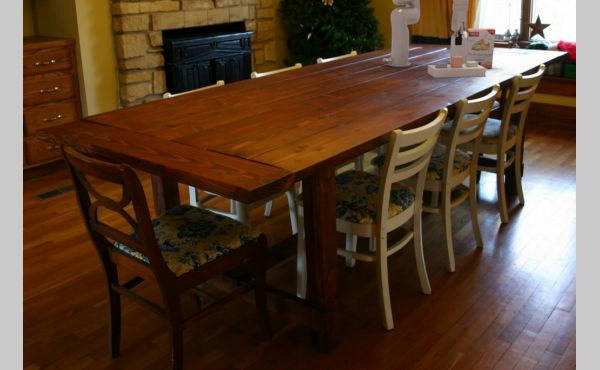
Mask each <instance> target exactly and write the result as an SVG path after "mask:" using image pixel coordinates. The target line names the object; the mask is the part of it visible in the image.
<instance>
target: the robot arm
mask: <svg viewBox="0 0 600 370" xmlns="http://www.w3.org/2000/svg"><path fill="white" fill-rule="evenodd" d="M469 1H470V0H452V18H451V27H450V29H451V31H454V33H455V45H462V36H463V33H464V31H465V30H467V20H468V19H467V18H468V15H467V12H468V11H469ZM392 3H393V4H394V5H397V6H402V7H396V8H395V9H393V10H392V11H391V13H390V24H391V53H390V55H391V56H390V57H388V58H383V59H382V63H388V66H389V67H394V68H404V67H410V66H412V63H411V62H409V51H410V49H409V48H410V46H409V45H410V30H409V27H408V25H414V24H417V23H418V22H419V20H420V18H421V6H420V3H421V2H420V0H392ZM403 5H405V6H403Z"/></svg>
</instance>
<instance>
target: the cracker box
mask: <svg viewBox="0 0 600 370" xmlns="http://www.w3.org/2000/svg"><path fill="white" fill-rule="evenodd" d="M466 32H467V44H466V57H465V64H466V62H469V61H475V62H478V65H480V66H482V67H484V68H486V70H488V69H492V68H493V60H494V49H495V39H496V29H495V28H484V27H483V28H482V27H481V28H480V27H478V28H477V27H475V28H467V31H466Z"/></svg>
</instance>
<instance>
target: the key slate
mask: <svg viewBox="0 0 600 370" xmlns="http://www.w3.org/2000/svg"><path fill="white" fill-rule="evenodd" d="M434 65H435V67H436V68H447V65H448V63H447V62H445V61H443V62H439V61H437V62H435V63H434Z"/></svg>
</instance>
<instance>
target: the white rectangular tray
mask: <svg viewBox="0 0 600 370" xmlns="http://www.w3.org/2000/svg"><path fill="white" fill-rule="evenodd" d="M450 65H451V64H447V68H436V67H435V64H432V65H431V64H430V65H429V64H428V65H427V74H428V75H429V76H431V77H433V78H435V79H436V78H438V79H439V78H463V77H464V78H466V77H467V78H469V77H486V72H487V71H486V70H487V69H486V68H484V67H482V66H480V65H478V67H466V64H463V67H458V68H453V67H451V66H450Z"/></svg>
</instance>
